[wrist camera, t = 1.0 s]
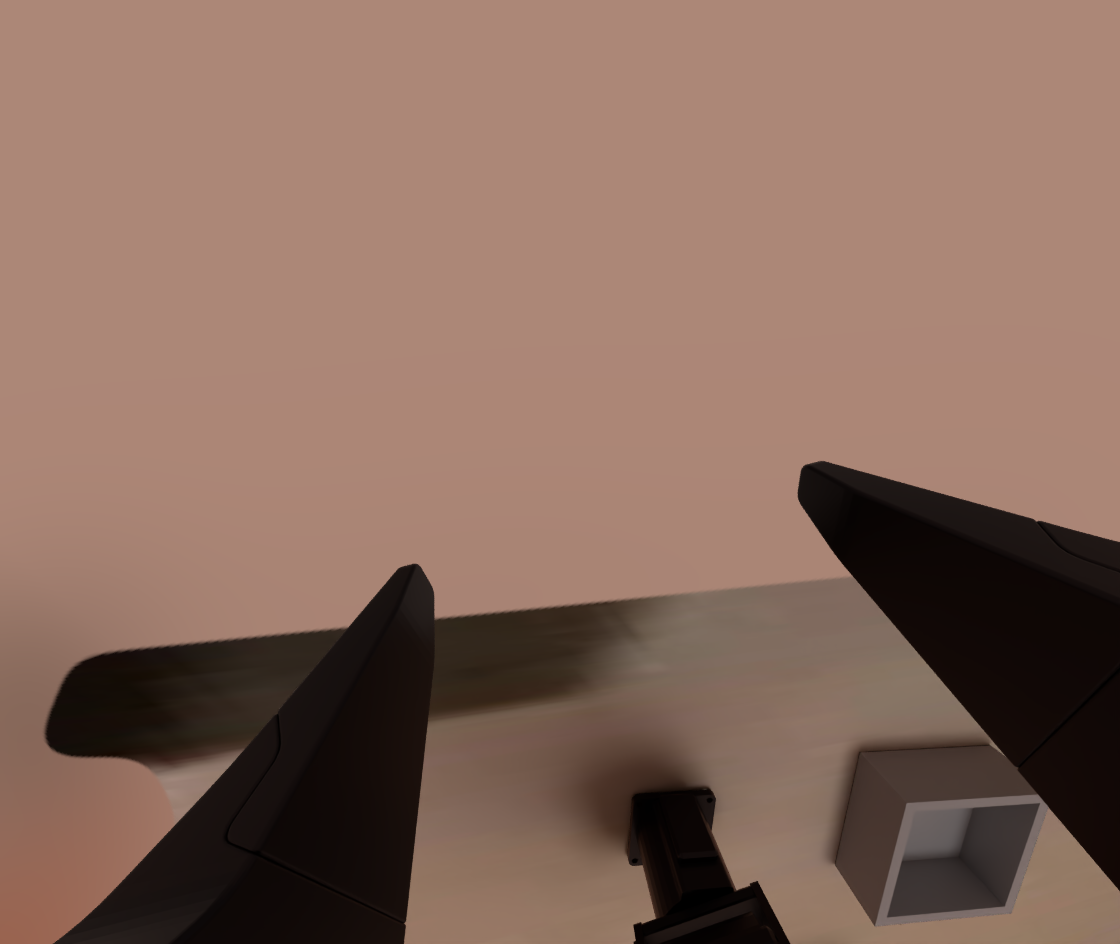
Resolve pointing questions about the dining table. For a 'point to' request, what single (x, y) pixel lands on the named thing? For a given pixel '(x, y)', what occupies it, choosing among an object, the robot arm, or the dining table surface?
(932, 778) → the bin
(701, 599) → the dining table surface
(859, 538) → the robot arm
